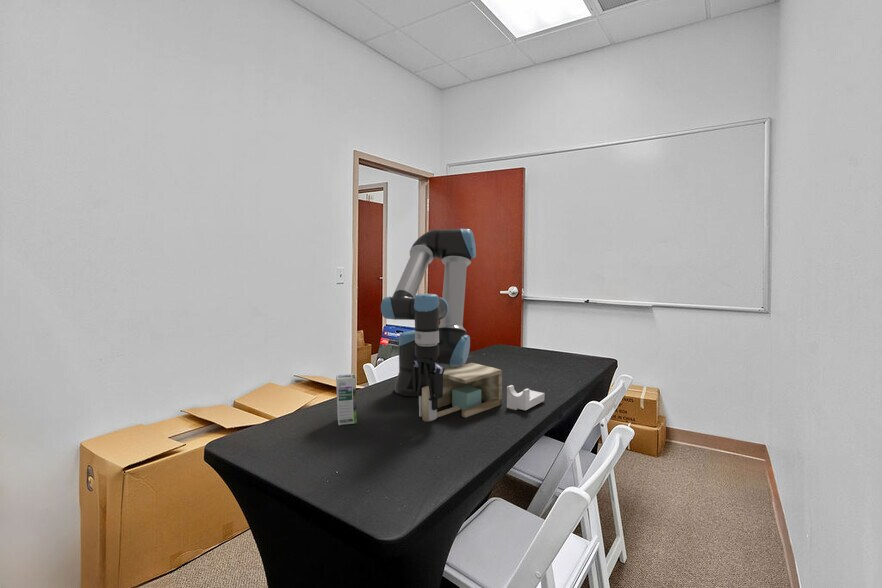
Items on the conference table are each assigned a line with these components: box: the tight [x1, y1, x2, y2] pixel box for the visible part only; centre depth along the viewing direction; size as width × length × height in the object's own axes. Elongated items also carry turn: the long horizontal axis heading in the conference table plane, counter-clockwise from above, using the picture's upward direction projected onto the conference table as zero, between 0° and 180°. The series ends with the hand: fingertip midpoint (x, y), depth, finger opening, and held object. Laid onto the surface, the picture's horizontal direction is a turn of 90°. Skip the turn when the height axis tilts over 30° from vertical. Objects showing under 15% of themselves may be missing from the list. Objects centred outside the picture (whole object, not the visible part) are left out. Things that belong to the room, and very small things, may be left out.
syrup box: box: [335, 373, 358, 426], centre depth 134 cm, size 6×6×14 cm
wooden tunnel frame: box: [438, 362, 503, 418], centre depth 148 cm, size 14×18×12 cm
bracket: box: [506, 384, 545, 411], centre depth 148 cm, size 13×7×8 cm, turn 139°
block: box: [421, 385, 482, 422], centre depth 142 cm, size 7×22×10 cm, turn 132°
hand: (427, 417), depth 136 cm, fingers closed on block, 4 cm apart
